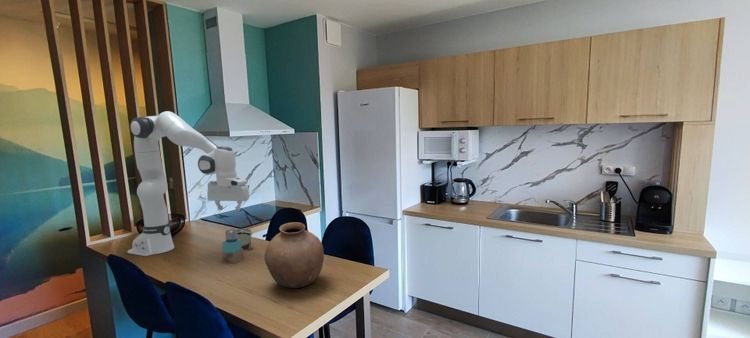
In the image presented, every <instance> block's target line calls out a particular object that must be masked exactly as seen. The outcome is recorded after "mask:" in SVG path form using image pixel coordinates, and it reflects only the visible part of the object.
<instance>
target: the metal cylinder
mask: <svg viewBox="0 0 750 338" xmlns="http://www.w3.org/2000/svg"><path fill="white" fill-rule="evenodd" d="M225 241H226V242H229V243H230V242H235V241H237V229H235V228H232V229H231V228H230V229H227V230H225Z"/></svg>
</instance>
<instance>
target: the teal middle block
mask: <svg viewBox="0 0 750 338" xmlns="http://www.w3.org/2000/svg"><path fill="white" fill-rule="evenodd" d="M221 244H222V245H221V246H222V253H236V252H237V251H239V250H241V249H242V248H241V239H237V241H235V242H230V243H229V242H226V240H225V241H222V242H221Z"/></svg>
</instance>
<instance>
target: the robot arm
mask: <svg viewBox="0 0 750 338" xmlns="http://www.w3.org/2000/svg"><path fill="white" fill-rule="evenodd" d="M129 129H130V130H129V131H130V132H131V134H132V135H133V138H134V139H133V151H134V158H135V163H136V168H137V170H138V173H139V175H140V178H141V182H140V183H139V184H138V187H137V189H136V195H137V197H138V199H139V204H140V206H141V210H142V216H143V224H144V225H143V226H141V227H140V230H142V231H141V233H140V234H139V235H138V236H136V237H135V238H134V239H133V240H132V247H131V248H130V249H129V250H127V254H130V255H131V254H132V255H136V256H142V257H147V256H152V255H158V254H159V255H160V254H163V253H166V252H167V253H168V252H170V251H172V250H174V249H175V244H174V242H173V237H172V234H171V224H170V222H169V213H168V212H169V211H168V207H167V205H166V201H165V198H164V196H165V195H164V194H165V193H166V192H167V189H168V182H167V178H166V175H165V171H164V167H163V164H162V159H161V150H160V145H159V141H160V139H164V140H165V139H168V140H169V141H170V142H172V143H173V144H175V145H177V146H179V147H180V146H181V147H189V148H195V149H199V150H201V151H203V152H204V153H205V154H203V155H201V156H200V157H199V159H198V161H197V167H198V169H199V171H200V172H201V173H202V174H204V175H214V174H215V177H216V180H214V181H213V180H211V181H209V182H208V183H207V194H206V195H207V200H208V201H210V202H211V201H212V202H214V204H215V205H216V207H217V211H222V210H223V205H221V202H236V204H237V205H236V206H235V207H234V208H235V211H241V205H242V203H243V202H245V201H248V200H249V199H250V191H249V187H248V185H247V183H248V180H247V179H245V178H243V177H240V176H237V171H236V166H237V163H236V162H237V161H236V155H235V152H234V151H235V150H233V148H231V147H229V146H218V145H217V144H216V143H214V142H213V141H212V140H211V139H210V138H208V137H206V136H205V135H204V134H202V133H200V132H199V131H197V130H196V129H194V128H193V127H192V126H191V125H189V124H188V123H187V122H186V121H185V120H184V119H182V118H181V117H180V116H179V115H178V114H176V113H174V112H172V111H169V110H167V111H166V110H165V111H163V112H161V113H159V114H158V115H149V116H138V117H137V116H136V117H134V118H132V120H131V121H130V125H129Z"/></svg>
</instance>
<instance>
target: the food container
mask: <svg viewBox="0 0 750 338" xmlns="http://www.w3.org/2000/svg"><path fill="white" fill-rule="evenodd" d="M236 230H237V239H241V248H242V249H243V251H250V250H251V249H252V247H251V245H252V244H251V243H252V242H251V241H252V235H253V233H252V230H251V229H250V228H239V229H236Z"/></svg>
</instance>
